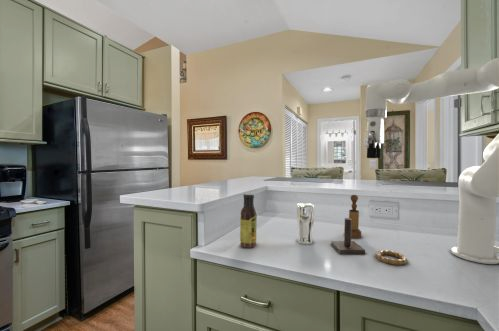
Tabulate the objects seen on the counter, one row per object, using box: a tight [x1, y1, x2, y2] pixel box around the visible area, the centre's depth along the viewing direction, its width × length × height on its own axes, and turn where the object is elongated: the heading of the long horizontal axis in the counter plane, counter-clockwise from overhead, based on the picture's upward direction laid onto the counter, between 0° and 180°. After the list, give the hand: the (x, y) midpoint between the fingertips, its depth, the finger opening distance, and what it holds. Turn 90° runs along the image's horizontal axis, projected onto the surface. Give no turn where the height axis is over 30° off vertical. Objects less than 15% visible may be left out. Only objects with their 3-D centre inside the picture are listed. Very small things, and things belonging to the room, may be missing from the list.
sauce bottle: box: [239, 193, 258, 249], centre depth 94 cm, size 6×6×20 cm
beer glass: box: [296, 203, 315, 245], centre depth 99 cm, size 7×7×15 cm
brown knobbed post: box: [348, 194, 362, 239], centre depth 107 cm, size 7×6×18 cm
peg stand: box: [330, 217, 366, 255], centre depth 92 cm, size 9×9×12 cm
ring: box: [375, 249, 408, 266], centre depth 83 cm, size 9×9×2 cm
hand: (373, 158), depth 99 cm, fingers open, 9 cm apart
